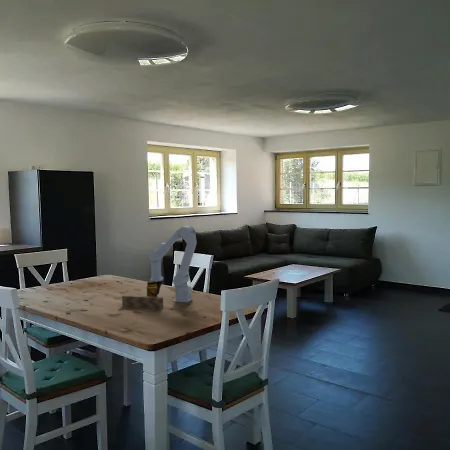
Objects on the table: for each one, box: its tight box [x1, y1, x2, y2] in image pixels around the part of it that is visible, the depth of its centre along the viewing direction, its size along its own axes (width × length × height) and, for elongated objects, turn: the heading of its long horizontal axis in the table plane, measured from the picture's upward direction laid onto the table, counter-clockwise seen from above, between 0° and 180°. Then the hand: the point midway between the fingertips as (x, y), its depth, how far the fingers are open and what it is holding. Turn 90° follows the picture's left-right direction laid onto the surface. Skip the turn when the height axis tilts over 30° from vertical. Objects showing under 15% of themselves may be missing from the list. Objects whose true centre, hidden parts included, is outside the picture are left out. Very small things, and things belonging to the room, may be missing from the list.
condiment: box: [146, 281, 158, 297], centre depth 256 cm, size 7×8×12 cm
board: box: [121, 294, 164, 310], centre depth 245 cm, size 24×2×6 cm, turn 73°
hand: (156, 294), depth 264 cm, fingers closed
